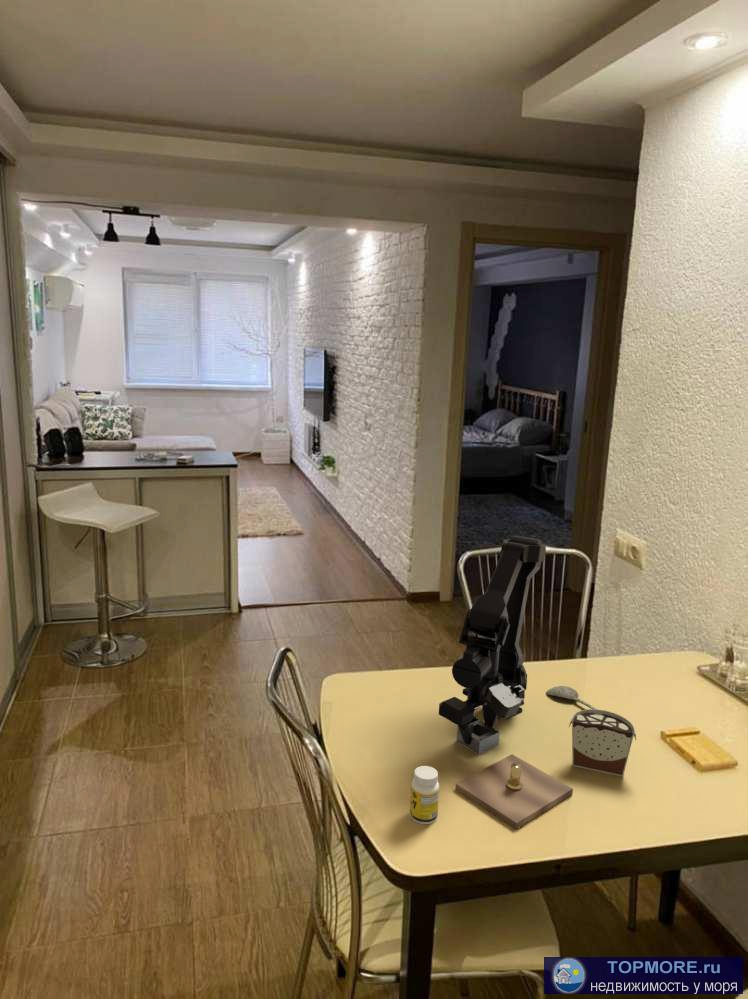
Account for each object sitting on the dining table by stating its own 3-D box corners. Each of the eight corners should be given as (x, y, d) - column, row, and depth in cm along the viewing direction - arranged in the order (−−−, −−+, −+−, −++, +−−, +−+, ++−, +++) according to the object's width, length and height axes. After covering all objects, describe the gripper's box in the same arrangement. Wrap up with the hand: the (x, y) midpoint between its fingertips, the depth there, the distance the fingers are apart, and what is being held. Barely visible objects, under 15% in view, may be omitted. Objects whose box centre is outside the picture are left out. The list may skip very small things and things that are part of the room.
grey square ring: (476, 732, 152) (477, 719, 151) (498, 745, 147) (499, 731, 147) (456, 741, 148) (457, 728, 147) (478, 755, 143) (479, 741, 143)
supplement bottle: (407, 807, 126) (410, 764, 124) (434, 807, 127) (437, 763, 125) (411, 825, 122) (414, 780, 120) (439, 825, 122) (442, 780, 120)
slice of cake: (631, 761, 143) (637, 715, 141) (631, 778, 138) (637, 730, 135) (567, 748, 147) (572, 702, 145) (564, 764, 141) (569, 717, 139)
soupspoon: (560, 690, 174) (539, 697, 171) (560, 677, 174) (540, 684, 171) (634, 730, 156) (613, 738, 153) (635, 715, 155) (614, 724, 152)
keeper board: (511, 759, 142) (512, 754, 142) (572, 794, 132) (573, 788, 132) (455, 789, 132) (455, 783, 132) (516, 829, 122) (516, 823, 121)
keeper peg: (513, 779, 134) (514, 760, 133) (525, 786, 131) (527, 767, 131) (503, 785, 132) (505, 765, 131) (515, 792, 130) (517, 772, 129)
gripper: (482, 696, 132) (476, 773, 135) (545, 670, 144) (538, 741, 147) (439, 674, 140) (434, 747, 144) (501, 651, 152) (496, 718, 155)
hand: (477, 738), depth 147 cm, fingers closed on grey square ring, 6 cm apart
